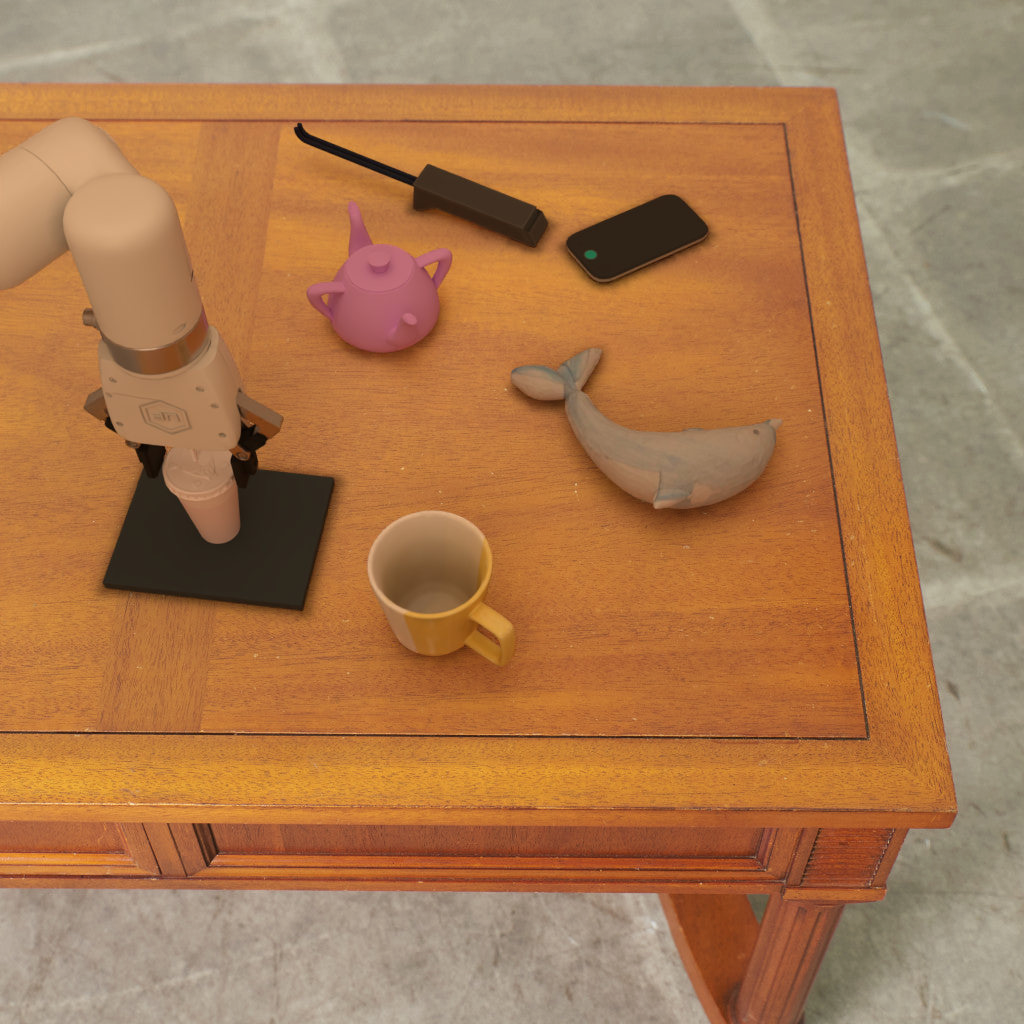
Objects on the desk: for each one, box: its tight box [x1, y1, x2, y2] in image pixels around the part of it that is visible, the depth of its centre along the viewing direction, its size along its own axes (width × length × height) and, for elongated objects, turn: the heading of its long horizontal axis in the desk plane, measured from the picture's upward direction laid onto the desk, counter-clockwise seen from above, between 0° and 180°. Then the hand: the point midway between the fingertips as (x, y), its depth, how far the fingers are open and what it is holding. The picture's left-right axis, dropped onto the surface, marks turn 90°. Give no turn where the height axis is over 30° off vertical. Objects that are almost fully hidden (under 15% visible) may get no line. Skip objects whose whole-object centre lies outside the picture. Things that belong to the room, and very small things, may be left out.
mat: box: [102, 460, 336, 612], centre depth 117 cm, size 18×14×1 cm
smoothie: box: [162, 447, 240, 544], centre depth 111 cm, size 6×6×14 cm
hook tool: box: [293, 122, 549, 248], centre depth 141 cm, size 4×4×30 cm
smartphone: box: [565, 194, 710, 283], centre depth 138 cm, size 8×1×15 cm
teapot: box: [305, 200, 453, 354], centre depth 128 cm, size 12×14×9 cm
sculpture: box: [509, 347, 784, 510], centre depth 123 cm, size 18×8×25 cm
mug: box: [366, 510, 517, 668], centre depth 107 cm, size 14×10×10 cm
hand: (201, 469), depth 109 cm, fingers open, 7 cm apart
